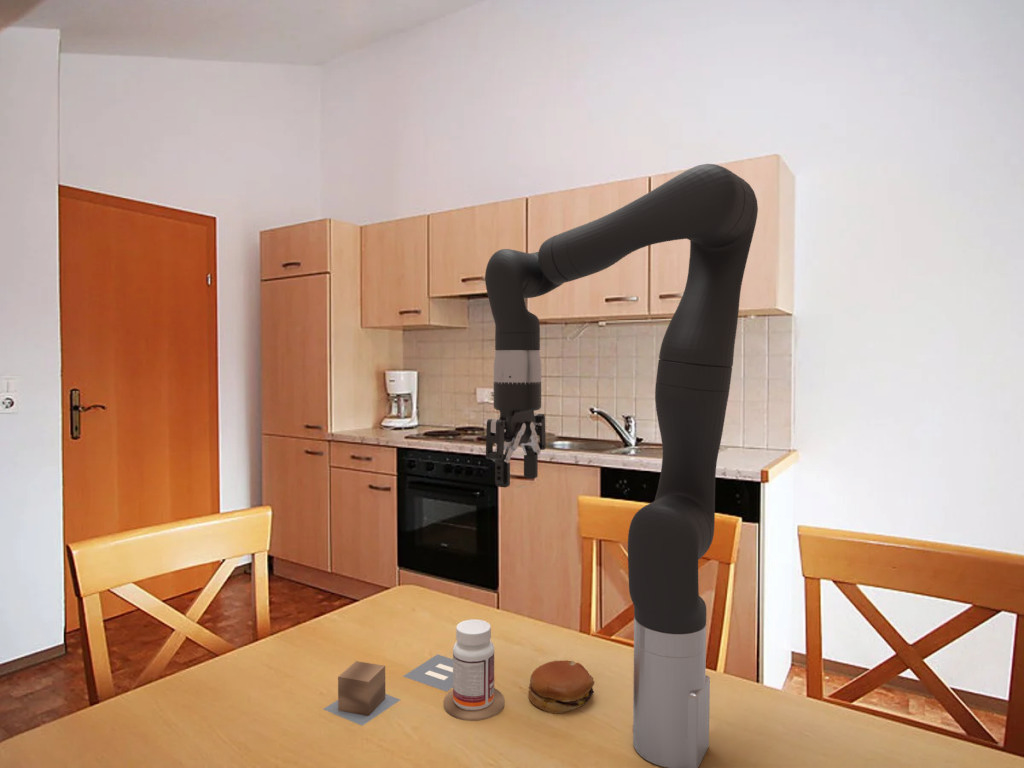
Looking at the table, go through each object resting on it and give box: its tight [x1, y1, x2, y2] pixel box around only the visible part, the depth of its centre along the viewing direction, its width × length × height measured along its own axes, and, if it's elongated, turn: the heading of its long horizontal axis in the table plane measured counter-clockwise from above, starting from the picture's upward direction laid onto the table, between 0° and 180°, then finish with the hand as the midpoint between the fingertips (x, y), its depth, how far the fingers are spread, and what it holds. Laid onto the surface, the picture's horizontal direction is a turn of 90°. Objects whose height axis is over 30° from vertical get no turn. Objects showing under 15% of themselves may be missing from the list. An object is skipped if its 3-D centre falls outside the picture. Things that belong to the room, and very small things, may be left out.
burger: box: [528, 660, 595, 714], centre depth 96 cm, size 10×9×5 cm
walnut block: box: [337, 660, 386, 716], centre depth 94 cm, size 5×5×5 cm
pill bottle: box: [452, 618, 495, 710], centre depth 94 cm, size 6×6×11 cm
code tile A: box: [402, 653, 453, 693], centre depth 104 cm, size 9×9×1 cm
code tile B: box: [323, 693, 401, 726], centre depth 94 cm, size 8×8×1 cm
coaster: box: [443, 687, 505, 722], centre depth 94 cm, size 9×9×1 cm
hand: (517, 482), depth 100 cm, fingers open, 8 cm apart
